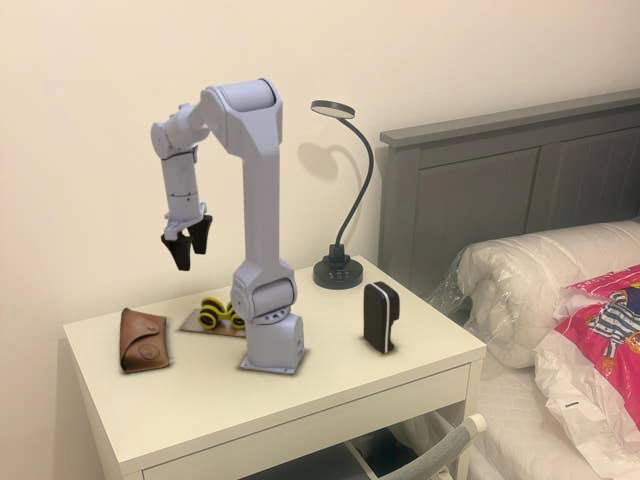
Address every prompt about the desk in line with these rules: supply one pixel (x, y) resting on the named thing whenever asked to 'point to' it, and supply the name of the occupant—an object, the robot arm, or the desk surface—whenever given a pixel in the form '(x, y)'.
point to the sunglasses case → (142, 341)
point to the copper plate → (220, 328)
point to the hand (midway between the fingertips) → (192, 261)
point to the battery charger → (380, 315)
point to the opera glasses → (218, 314)
